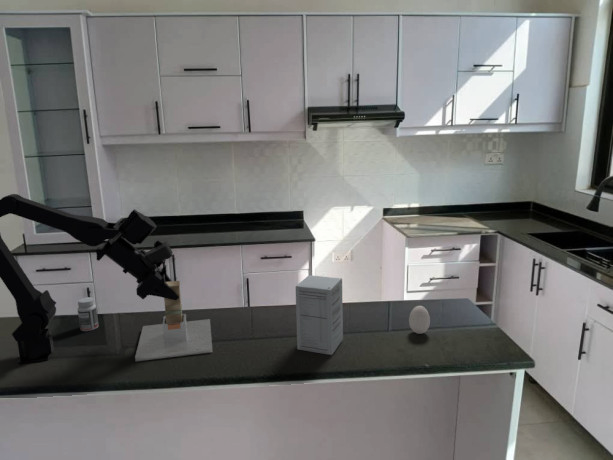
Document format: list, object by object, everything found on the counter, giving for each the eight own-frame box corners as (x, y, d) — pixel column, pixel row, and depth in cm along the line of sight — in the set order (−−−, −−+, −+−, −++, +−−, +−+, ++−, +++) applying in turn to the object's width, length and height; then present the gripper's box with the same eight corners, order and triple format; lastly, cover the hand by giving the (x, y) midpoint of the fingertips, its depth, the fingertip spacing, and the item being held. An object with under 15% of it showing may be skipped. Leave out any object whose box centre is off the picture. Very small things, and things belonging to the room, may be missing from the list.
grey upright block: (343, 339, 120) (344, 277, 116) (332, 356, 111) (332, 289, 108) (309, 334, 123) (308, 274, 120) (295, 349, 115) (294, 285, 111)
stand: (135, 361, 110) (133, 338, 109) (143, 330, 127) (141, 309, 126) (212, 352, 114) (211, 329, 113) (210, 323, 131) (208, 303, 130)
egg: (431, 337, 120) (432, 310, 119) (410, 337, 121) (411, 310, 119) (427, 328, 125) (428, 302, 124) (407, 328, 126) (408, 302, 124)
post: (166, 326, 117) (162, 287, 115) (167, 320, 121) (163, 281, 119) (182, 324, 118) (179, 285, 116) (182, 318, 122) (179, 280, 120)
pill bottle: (93, 323, 132) (90, 295, 131) (101, 327, 129) (98, 299, 128) (76, 328, 129) (73, 300, 127) (85, 333, 126) (81, 304, 124)
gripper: (147, 242, 105) (200, 284, 109) (154, 225, 122) (199, 262, 127) (113, 278, 105) (167, 319, 109) (125, 256, 122) (171, 292, 127)
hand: (178, 295), depth 118 cm, fingers closed on post, 4 cm apart
